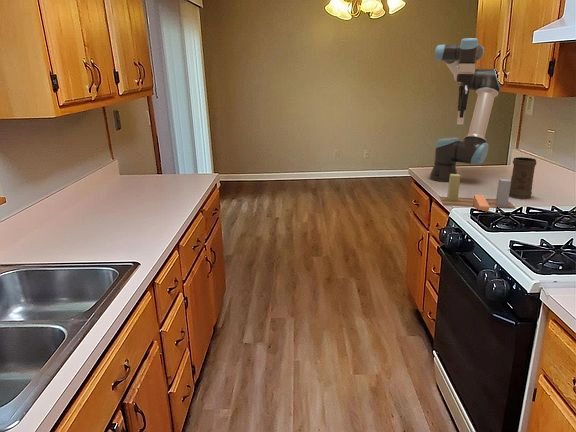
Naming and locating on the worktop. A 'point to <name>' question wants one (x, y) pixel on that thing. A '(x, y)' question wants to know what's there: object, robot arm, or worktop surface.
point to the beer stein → (522, 178)
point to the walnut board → (471, 203)
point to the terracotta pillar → (480, 203)
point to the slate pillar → (503, 192)
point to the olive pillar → (453, 187)
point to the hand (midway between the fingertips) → (460, 124)
